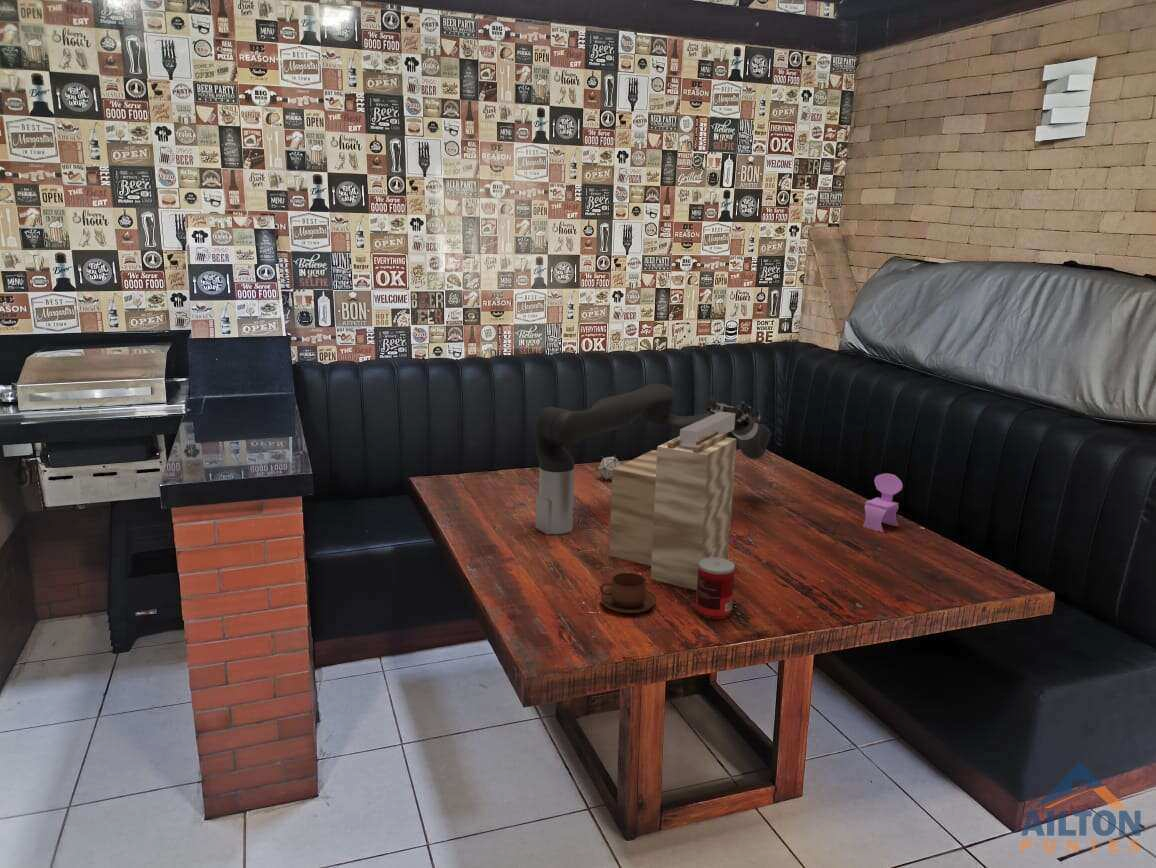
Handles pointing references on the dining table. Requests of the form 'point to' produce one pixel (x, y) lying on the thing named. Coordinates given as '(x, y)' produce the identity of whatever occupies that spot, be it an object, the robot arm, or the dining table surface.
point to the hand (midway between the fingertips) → (726, 403)
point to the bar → (706, 429)
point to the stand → (674, 508)
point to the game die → (608, 466)
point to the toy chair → (883, 503)
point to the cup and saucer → (627, 594)
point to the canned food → (715, 587)
